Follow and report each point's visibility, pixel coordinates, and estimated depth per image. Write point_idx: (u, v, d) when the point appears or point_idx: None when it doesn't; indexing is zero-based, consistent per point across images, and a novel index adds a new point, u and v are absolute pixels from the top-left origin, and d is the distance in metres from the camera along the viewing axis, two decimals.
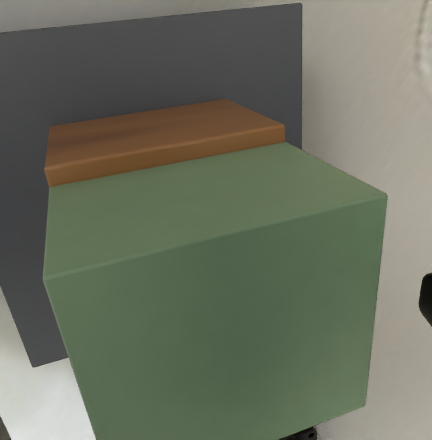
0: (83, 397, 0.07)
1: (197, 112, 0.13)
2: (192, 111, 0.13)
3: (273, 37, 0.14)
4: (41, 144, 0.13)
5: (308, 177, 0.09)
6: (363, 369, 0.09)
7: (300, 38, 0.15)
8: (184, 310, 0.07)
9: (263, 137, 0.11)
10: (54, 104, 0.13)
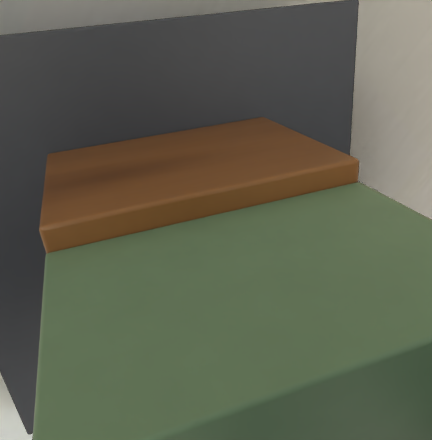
0: None
1: (233, 136, 0.10)
2: (226, 135, 0.10)
3: (322, 41, 0.12)
4: (37, 176, 0.11)
5: (421, 249, 0.06)
6: None
7: (354, 43, 0.12)
8: None
9: (331, 176, 0.08)
10: (53, 126, 0.10)
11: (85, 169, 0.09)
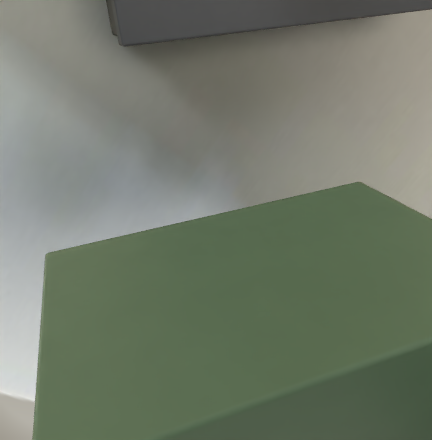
0: None
1: None
2: None
3: None
4: None
5: (422, 249, 0.06)
6: None
7: None
8: None
9: None
10: None
11: None
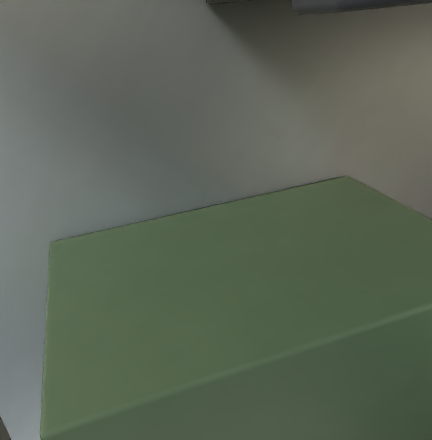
0: None
1: None
2: None
3: None
4: None
5: (401, 236, 0.06)
6: None
7: None
8: None
9: None
10: None
11: None
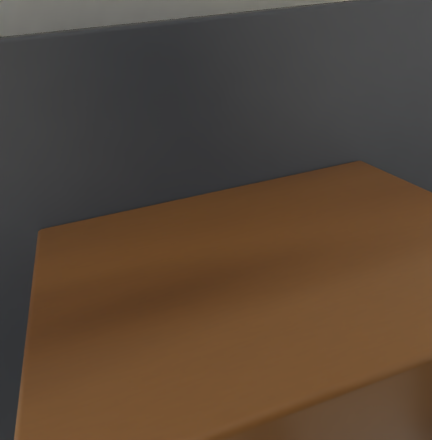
0: None
1: (337, 203, 0.06)
2: (322, 199, 0.07)
3: None
4: (23, 263, 0.07)
5: None
6: None
7: None
8: None
9: None
10: (48, 187, 0.06)
11: (102, 277, 0.05)
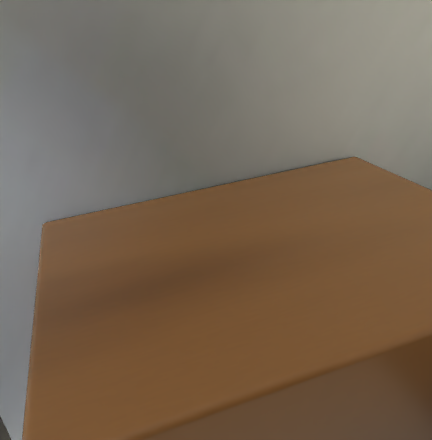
0: None
1: (331, 197, 0.07)
2: (318, 193, 0.07)
3: None
4: None
5: None
6: None
7: None
8: None
9: None
10: None
11: (105, 266, 0.05)
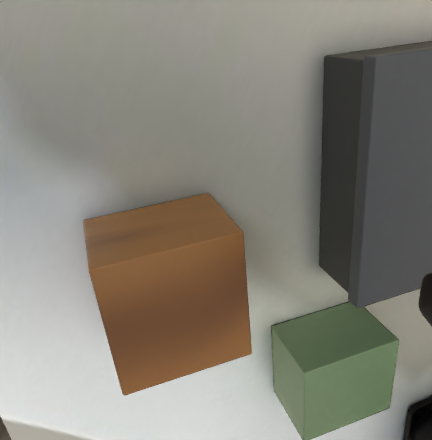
0: (304, 405, 0.23)
1: (187, 210, 0.18)
2: (183, 209, 0.19)
3: None
4: (422, 131, 0.18)
5: (370, 327, 0.24)
6: (389, 394, 0.25)
7: None
8: (336, 378, 0.23)
9: (228, 240, 0.16)
10: None
11: (106, 233, 0.17)
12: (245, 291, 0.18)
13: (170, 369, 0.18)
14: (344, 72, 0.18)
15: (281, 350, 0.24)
